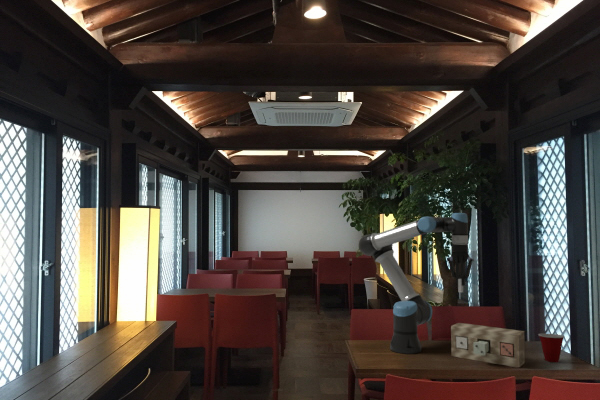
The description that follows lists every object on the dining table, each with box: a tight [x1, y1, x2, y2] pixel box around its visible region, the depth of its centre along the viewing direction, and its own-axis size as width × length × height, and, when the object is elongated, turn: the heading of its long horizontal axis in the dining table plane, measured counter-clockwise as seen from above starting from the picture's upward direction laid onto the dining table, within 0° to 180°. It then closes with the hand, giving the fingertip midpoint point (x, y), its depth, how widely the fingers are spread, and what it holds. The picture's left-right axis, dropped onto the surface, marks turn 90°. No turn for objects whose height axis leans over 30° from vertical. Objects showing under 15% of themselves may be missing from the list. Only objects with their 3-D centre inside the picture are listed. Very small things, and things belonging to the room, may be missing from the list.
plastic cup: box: [537, 333, 565, 363], centre depth 215 cm, size 11×11×12 cm
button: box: [456, 336, 468, 349], centre depth 222 cm, size 5×8×5 cm, turn 142°
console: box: [450, 322, 526, 368], centre depth 217 cm, size 30×10×14 cm, turn 52°
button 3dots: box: [501, 343, 514, 356], centre depth 210 cm, size 5×8×5 cm, turn 142°
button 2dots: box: [473, 340, 489, 356], centre depth 211 cm, size 5×8×5 cm, turn 142°
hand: (460, 292), depth 229 cm, fingers closed
